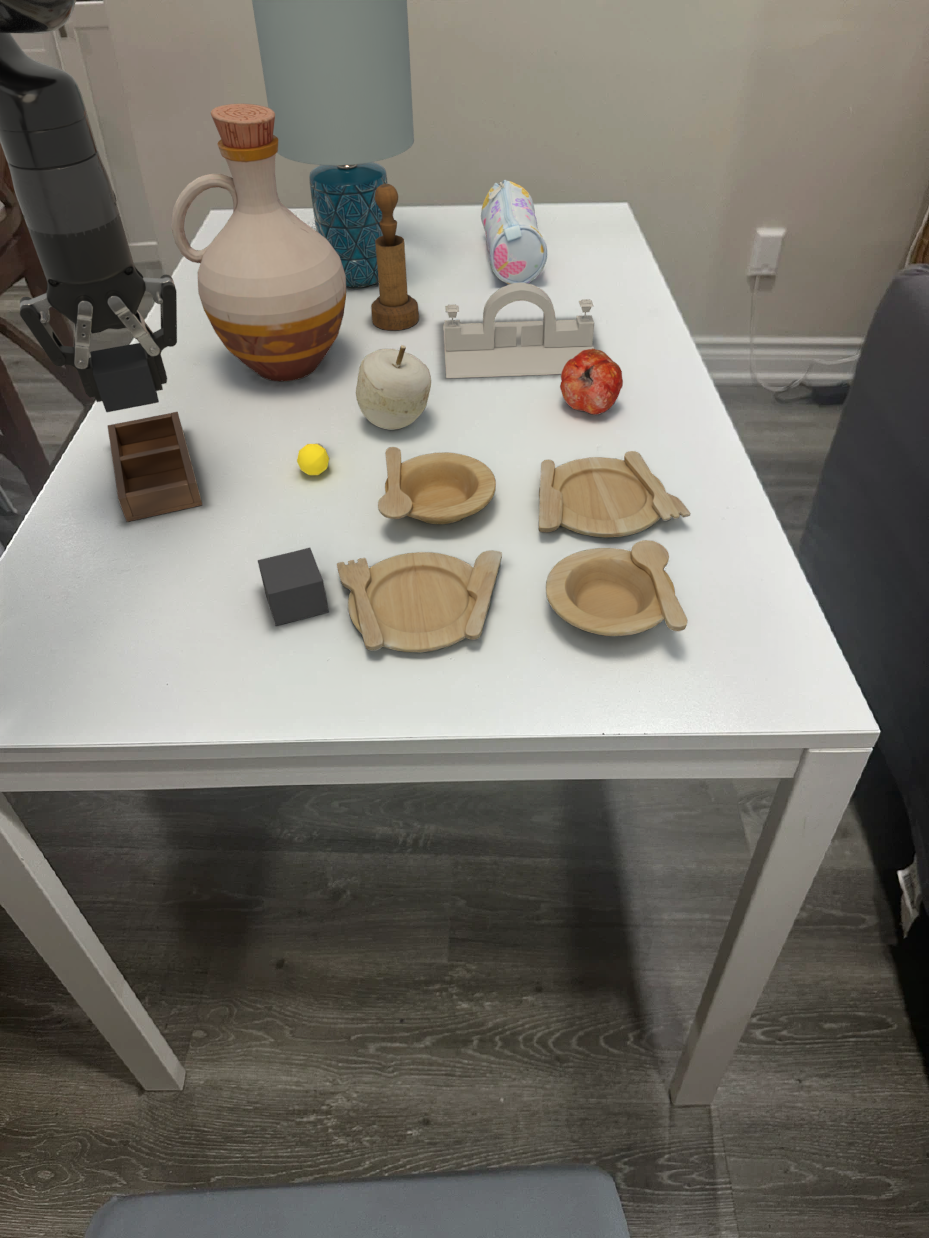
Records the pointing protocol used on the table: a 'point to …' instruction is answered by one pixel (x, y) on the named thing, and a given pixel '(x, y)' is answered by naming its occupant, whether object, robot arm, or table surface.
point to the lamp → (340, 109)
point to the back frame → (152, 467)
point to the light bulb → (313, 459)
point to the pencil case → (513, 234)
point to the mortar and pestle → (391, 270)
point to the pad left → (123, 377)
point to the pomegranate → (591, 381)
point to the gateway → (515, 338)
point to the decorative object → (392, 388)
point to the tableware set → (460, 594)
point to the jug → (263, 259)
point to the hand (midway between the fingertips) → (129, 391)
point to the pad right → (293, 586)
